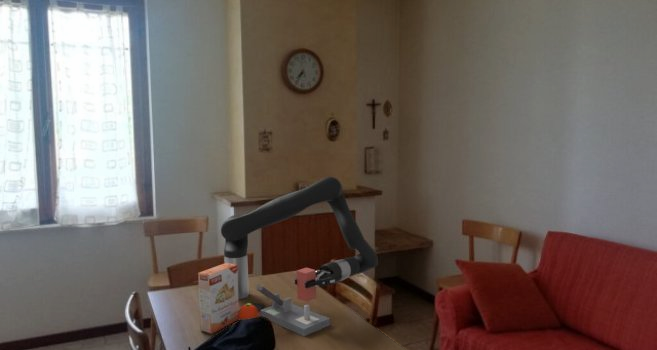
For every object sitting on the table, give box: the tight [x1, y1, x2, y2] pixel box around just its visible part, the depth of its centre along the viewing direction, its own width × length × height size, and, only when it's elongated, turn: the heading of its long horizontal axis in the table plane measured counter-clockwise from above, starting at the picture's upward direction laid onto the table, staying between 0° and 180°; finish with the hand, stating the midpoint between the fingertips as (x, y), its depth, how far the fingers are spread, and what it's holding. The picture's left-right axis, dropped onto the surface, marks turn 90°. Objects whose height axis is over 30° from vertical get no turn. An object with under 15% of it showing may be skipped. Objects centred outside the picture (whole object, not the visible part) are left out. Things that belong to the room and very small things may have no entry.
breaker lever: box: [255, 284, 283, 307], centre depth 177 cm, size 4×2×14 cm
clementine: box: [239, 302, 259, 321], centre depth 175 cm, size 8×7×7 cm
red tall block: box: [296, 267, 317, 303], centre depth 170 cm, size 5×5×10 cm
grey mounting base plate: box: [259, 292, 331, 337], centre depth 176 cm, size 24×12×8 cm, turn 45°
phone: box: [250, 302, 266, 313], centre depth 185 cm, size 7×1×15 cm
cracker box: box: [197, 262, 240, 335], centre depth 173 cm, size 14×6×21 cm, turn 148°
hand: (300, 283), depth 168 cm, fingers closed on red tall block, 4 cm apart
